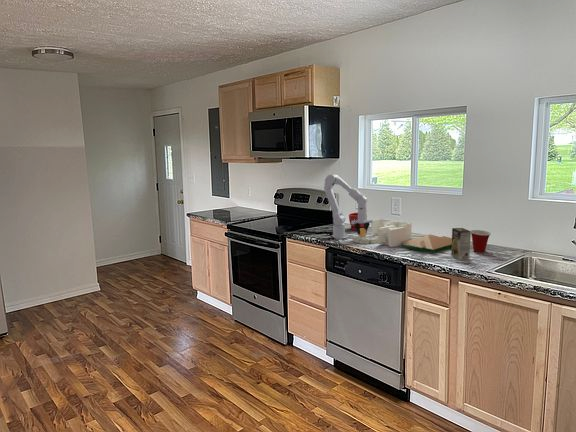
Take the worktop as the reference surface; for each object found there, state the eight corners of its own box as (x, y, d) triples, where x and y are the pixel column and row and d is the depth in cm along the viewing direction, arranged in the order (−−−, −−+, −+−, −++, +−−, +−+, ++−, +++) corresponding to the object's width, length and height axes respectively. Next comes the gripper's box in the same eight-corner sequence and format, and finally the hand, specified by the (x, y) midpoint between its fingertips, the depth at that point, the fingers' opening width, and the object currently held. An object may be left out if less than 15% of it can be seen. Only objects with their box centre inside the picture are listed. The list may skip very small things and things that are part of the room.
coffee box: (450, 256, 236) (451, 228, 234) (461, 255, 237) (462, 227, 234) (458, 260, 227) (459, 231, 225) (469, 259, 228) (471, 230, 225)
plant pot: (353, 227, 325) (353, 211, 323) (369, 228, 318) (369, 213, 315) (345, 230, 315) (345, 214, 313) (361, 231, 307) (361, 215, 305)
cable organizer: (389, 248, 257) (389, 230, 255) (377, 245, 266) (377, 227, 264) (406, 245, 265) (406, 227, 263) (394, 242, 274) (394, 224, 272)
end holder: (363, 240, 280) (363, 236, 280) (376, 239, 282) (376, 235, 281) (369, 243, 271) (369, 239, 271) (382, 242, 273) (382, 238, 273)
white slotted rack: (411, 239, 280) (411, 223, 279) (401, 242, 274) (401, 225, 272) (381, 233, 300) (381, 218, 298) (371, 236, 293) (371, 220, 291)
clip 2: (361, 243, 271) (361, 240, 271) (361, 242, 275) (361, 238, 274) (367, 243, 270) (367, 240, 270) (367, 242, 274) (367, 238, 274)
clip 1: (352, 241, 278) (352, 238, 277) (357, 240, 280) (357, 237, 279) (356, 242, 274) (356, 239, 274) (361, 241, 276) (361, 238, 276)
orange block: (356, 235, 288) (356, 228, 287) (362, 234, 288) (362, 227, 287) (360, 237, 282) (360, 229, 281) (365, 236, 283) (365, 229, 282)
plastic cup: (486, 255, 236) (487, 234, 234) (466, 252, 243) (467, 232, 241) (492, 251, 244) (493, 231, 242) (473, 248, 251) (474, 229, 249)
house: (397, 248, 258) (397, 235, 256) (429, 240, 277) (429, 228, 276) (430, 255, 240) (430, 241, 238) (461, 246, 259) (462, 233, 258)
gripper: (354, 215, 276) (353, 235, 279) (374, 214, 279) (374, 234, 281) (350, 214, 283) (350, 233, 285) (370, 212, 286) (370, 232, 288)
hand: (361, 234), depth 284 cm, fingers closed on orange block, 4 cm apart
